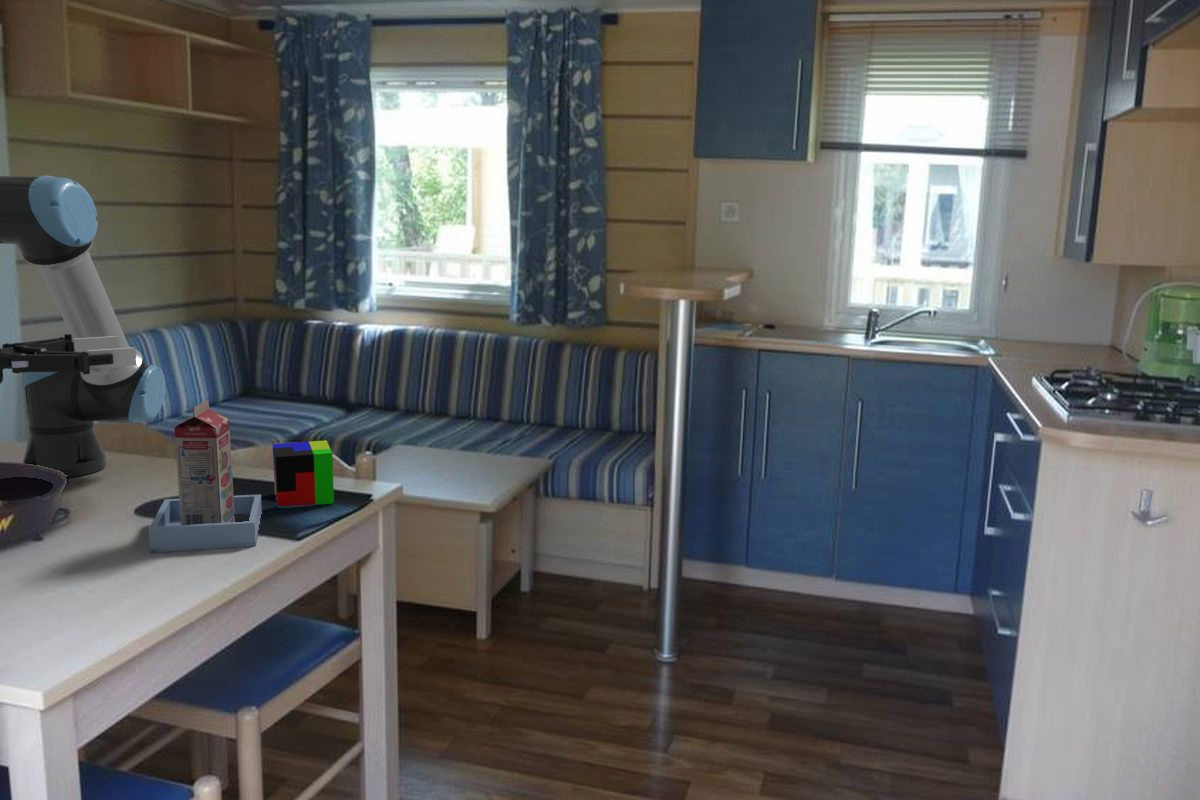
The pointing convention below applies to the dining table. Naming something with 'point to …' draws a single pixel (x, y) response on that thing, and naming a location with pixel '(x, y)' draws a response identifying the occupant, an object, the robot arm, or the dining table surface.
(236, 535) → the bin
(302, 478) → the puzzle toy
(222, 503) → the juice carton
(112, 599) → the dining table surface
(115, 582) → the dining table surface
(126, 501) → the dining table surface
